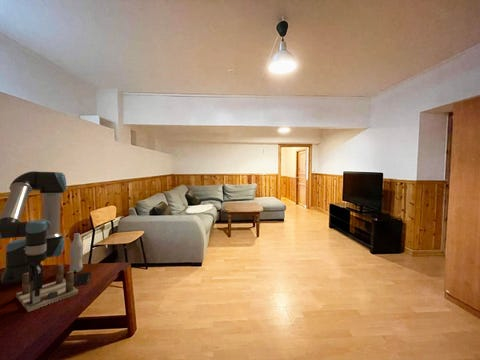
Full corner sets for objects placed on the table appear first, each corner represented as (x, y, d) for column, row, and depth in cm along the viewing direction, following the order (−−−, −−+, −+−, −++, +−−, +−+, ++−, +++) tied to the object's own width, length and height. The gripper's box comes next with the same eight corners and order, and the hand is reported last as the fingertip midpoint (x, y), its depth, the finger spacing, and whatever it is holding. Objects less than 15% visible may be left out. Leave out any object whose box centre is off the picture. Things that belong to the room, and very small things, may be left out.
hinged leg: (29, 300, 107) (29, 281, 107) (56, 292, 115) (57, 274, 115) (30, 303, 105) (30, 284, 105) (58, 295, 113) (58, 277, 112)
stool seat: (16, 297, 114) (17, 274, 113) (63, 282, 130) (64, 262, 130) (28, 312, 103) (28, 286, 102) (78, 293, 119) (78, 272, 119)
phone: (91, 272, 143) (88, 282, 130) (91, 273, 143) (88, 284, 130) (76, 274, 139) (72, 285, 126) (76, 276, 139) (72, 287, 126)
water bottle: (79, 268, 150) (80, 231, 149) (84, 270, 146) (85, 233, 145) (66, 271, 144) (68, 233, 143) (72, 274, 140) (73, 235, 139)
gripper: (20, 250, 108) (19, 296, 109) (30, 260, 98) (28, 311, 99) (40, 246, 115) (39, 290, 115) (51, 255, 104) (50, 303, 105)
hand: (34, 299), depth 107 cm, fingers open, 5 cm apart
